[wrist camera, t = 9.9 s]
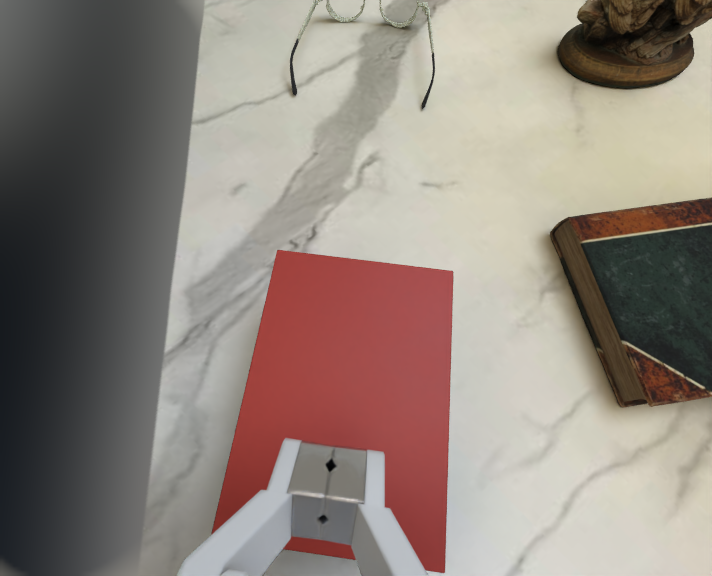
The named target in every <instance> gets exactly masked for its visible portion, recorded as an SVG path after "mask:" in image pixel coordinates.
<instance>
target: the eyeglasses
mask: <svg viewBox="0 0 712 576" xmlns="http://www.w3.org/2000/svg"><path fill="white" fill-rule="evenodd" d="M319 1H323V0H314V2H313V4H312V6H311V8H310V11H309V13H308V15H307V17H306V20H305V22H304V24H303V26H302V29H301V31H300V33H299V35H298V39H297V40H296V43H295V45H294V48H293V50H292V53H291V58H290V73H291V83H292V92H293V94H294V95H296V94H297V89H296V84H295V80H294V73H293V65H292V60H293V55H294V52H295V50H296V47H297V45H298V42H299V40H300V38H301V36H302V34H303V32H304V30H305V28H306V26H307V24H308V22H309V20H310V17H311V15H312V13H313V11H314V9H315V6H316V4H317V5H318V2H319ZM416 1H417V9H416V12H415V13H414V15H413V16H412V17H411V18H410V19H409V20H407V21H405V22H403V23H395V22H392V21H390V20H388V19H387V18H386V16H385V15H384V14H383V8H381V0H380V12H381V14H382V17H383V18H384V19H385V21H386V22H388V23H389V24H391V25H393V26H394V27H398V28H402V27H406V26H408V25H409V24H411V23H412V22H413V21H414V19H415V17H416V15H417V10H418V7H423V8H422V10H423V11H425V15H427V19H428V29H429V38H430V44H431V50H432V62H433V74H432V80H431V83H430V86H429V89H428V91H427V93H426V96H425V98H424V100H423V103H422V109H423V108H424V107H425V105H426V102H427V99H428V96H429V93H430V90H431V87H432V84H433V79H434V74H435V63H434V53H433V52H434V49H433V39H432V30H431V20H430V10H429V7H427V5H428V3H427V2H423V4H422V3H421V4H420V3H419V0H416ZM364 5H365V0H364V4H363V6H361V11H360V12H359V14H357V15H356V16H354V17H351V18H344V17H341V16H339V15H337V14H336V13H335V12H334V11H333V10H332V8H331V6H330V4H329V0H327V5H326V7H327V10H328V12H329V14H330V15H331V16H332V17H333V18H334V19H336V20H337V21H340V22H349V21H352V20H355V19H356V18H358V17H359V16H360V14H361V13H362V11H363V8H364Z"/></svg>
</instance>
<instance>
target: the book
mask: <svg viewBox="0 0 712 576" xmlns="http://www.w3.org/2000/svg"><path fill="white" fill-rule="evenodd" d="M550 235H551V237H552V241H553V243H554V246H555V248H556V250H557V252H558V255H559V257H560V260H561V262H562V265H563V267H564V270H565V272H566V275H567V277H568V280H569V282H570V285H571V288H572V290H573V293H574V295H575V298H576V300H577V303H578V305H579V308H580V310H581V313H582V315H583V318H584V320H585V323H586V325H587V327H588V330H589V332H590V335H591V337H592V339H593V342H594V344H595V347H596V349H597V351H598V354H599V356H600V359H601V361H602V363H603V366H604V368H605V371H606V373H607V375H608V378H609V380H610V383H611V385H612V387H613V390H614V392H615V395H616V397H617V400H618V402H619V405H620V406H621V407H629V406H634V405H640V404H646V403H648V405H649V406H651V407H652V406H658V405H664V404H671V403H678V402H684V401H690V400H695V399H701V398H707V397H712V198H706V199H698V200H691V201H683V202H676V203H668V204H661V205H654V206H646V207H639V208H631V209H624V210H617V211H609V212H602V213H594V214H587V215H580V216H573V217H568V218H566V219H564V220H562V221H561V222H559V223H558V224H557V225H556V226H555V227H554V228H553V230H552V231H551V233H550Z"/></svg>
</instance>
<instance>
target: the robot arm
mask: <svg viewBox="0 0 712 576" xmlns="http://www.w3.org/2000/svg"><path fill="white" fill-rule="evenodd" d="M291 536H293V537H301V538H310V539H318V540H321V539H322V540H325V541H330V542H336V543H341V544H347V545H352V546H351V548H352V550H353V553H354V556H355V558H356V561H357V564H358V566H359V569H360V572H361V574H362V576H428V574H427V572H426V571H425V569H424V567H423V565H422V564H421V562H420V560H419V558H418V557H417V555H416V553H415V551H414V550H413V548H412V546H411V544H410V543H409V541H408V539H407V537H406V536H405V534H404V532H403V530H402V529H401V527H400V525H399V523H398V522H397V520H396V518H395V516H394V515H393V513H392V511H391V509H390V508H386V507H385V455H384V452H381V451H374V450H367V449H362V448H354V447H346V446H338V445H334V446H333V445H327V444H321V443H315V442H309V441H303V440H296V439H290V438H285V439H284V441H283V443H282V445H281V448H280V451H279V454H278V457H277V460H276V463H275V466H274V469H273V472H272V475H271V478H270V481H269V484H268V487H267V490H260V491H259V492H258V493H257V494H256V495H255V496H254V497H253V498H251V499H250V500H249V501H248V502H247V503H246V504H245V505H244V506H243V507H242V508H240V509H239V510H238V511H237V512H236V513H235V514H234V515H233V516H232V517H231V518H229V519H228V520H227V521H226V522H225V523H224V524H223V525H222V526H221V527H220V528H218V529H217V530H216V531H215V532H214V533H213V534H212V535H211V536H210V537H209V538H207V539H206V540H205V541H204V542H203V543H202V544H201V545H200V546H199V547H198V548H196V549H195V550H194V551H193V552H192V553H191V554H190V555H189V556H188V557H187V558H185V559H184V561H183V563H182V565H181V567H180V569H179V571H178V574H177V576H262V575H263V574H264V572H265V571H266V570H267V568H268V567H269V566H270V565H271V563H272V562H273V561H274V559H275V558H276V557H277V556H278V554H279V553H280V552H281V550H282V549H283V548H284V547H285V545H286V544H287V543H288V542H289V540H290V539H291Z"/></svg>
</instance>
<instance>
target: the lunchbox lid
mask: <svg viewBox="0 0 712 576" xmlns="http://www.w3.org/2000/svg"><path fill="white" fill-rule="evenodd" d="M452 301H453V271H447V270H439V269H431V268H423V267H415V266H406V265H398V264H390V263H382V262H373V261H365V260H357V259H349V258H340V257H332V256H324V255H316V254H308V253H299V252H291V251H283V250H277V254H276V258H275V262H274V267H273V271H272V275H271V280H270V284H269V288H268V293H267V297H266V301H265V306H264V310H263V314H262V318H261V323H260V327H259V331H258V336H257V340H256V344H255V349H254V353H253V357H252V362H251V366H250V370H249V374H248V379H247V383H246V387H245V392H244V396H243V400H242V405H241V409H240V413H239V418H238V422H237V426H236V430H235V435H234V439H233V443H232V448H231V452H230V456H229V461H228V465H227V469H226V473H225V478H224V482H223V486H222V491H221V495H220V499H219V504H218V508H217V512H216V517H215V521H214V525H213V529H212V534H213V533H214V532H215V531H216V530H217V529H218V528H220V527H221V526H222V525H223V524H224V523H225V522H226V521H227V520H228V519H229V518H231V517H232V516H233V515H234V514H235V513H236V512H237V511H238V510H239V509H240V508H242V507H243V506H244V505H245V504H246V503H247V502H248V501H249V500H250V499H251V498H253V497H254V496H255V495H256V494H257V493H258V492H259V491H260V490H267V487H268V484H269V481H270V478H271V475H272V472H273V469H274V466H275V463H276V460H277V457H278V454H279V451H280V448H281V445H282V443H283V441H284V439H285V438H290V439H296V440H303V441H309V442H315V443H321V444H327V445H333V446H334V445H338V446H346V447H354V448H362V449H367V450H374V451H381V452H384V455H385V507H386V508H390V509H391V511H392V513H393V515H394V516H395V518H396V520H397V522H398V523H399V525H400V527H401V529H402V530H403V532H404V534H405V536H406V537H407V539H408V541H409V543H410V544H411V546H412V548H413V550H414V551H415V553H416V555H417V557H418V558H419V560H420V562H421V564H422V565H423V567H424V569H425V570H426V571H433V572H440V573H445V549H446V514H447V478H448V443H449V407H450V372H451V336H452ZM212 534H211V535H212ZM351 546H352V545H347V544H341V543H336V542H330V541H325V540H322V539H321V540H318V539H310V538H301V537H293V536H291V539H290V540H289V542H288V543H287V544H286V545H285V547H284V548H283V549H286V550H292V551H299V552H306V553H312V554H319V555H326V556H333V557H339V558H346V559H353V560H356V558H355V556H354V553H353V550H352V548H351Z"/></svg>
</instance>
